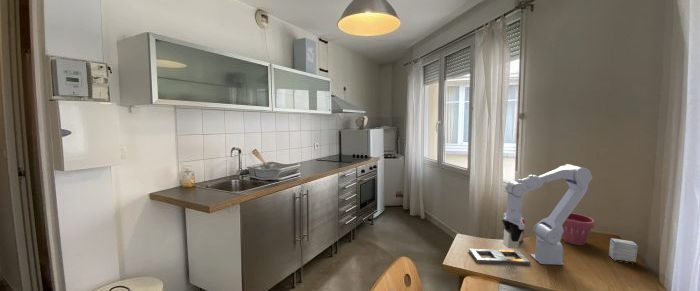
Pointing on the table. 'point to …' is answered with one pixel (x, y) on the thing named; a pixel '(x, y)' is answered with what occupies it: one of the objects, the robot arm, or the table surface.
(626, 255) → the medicine box
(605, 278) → the table surface
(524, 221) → the beverage can
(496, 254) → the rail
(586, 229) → the plant pot
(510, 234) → the grey rectangular block
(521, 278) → the table surface
